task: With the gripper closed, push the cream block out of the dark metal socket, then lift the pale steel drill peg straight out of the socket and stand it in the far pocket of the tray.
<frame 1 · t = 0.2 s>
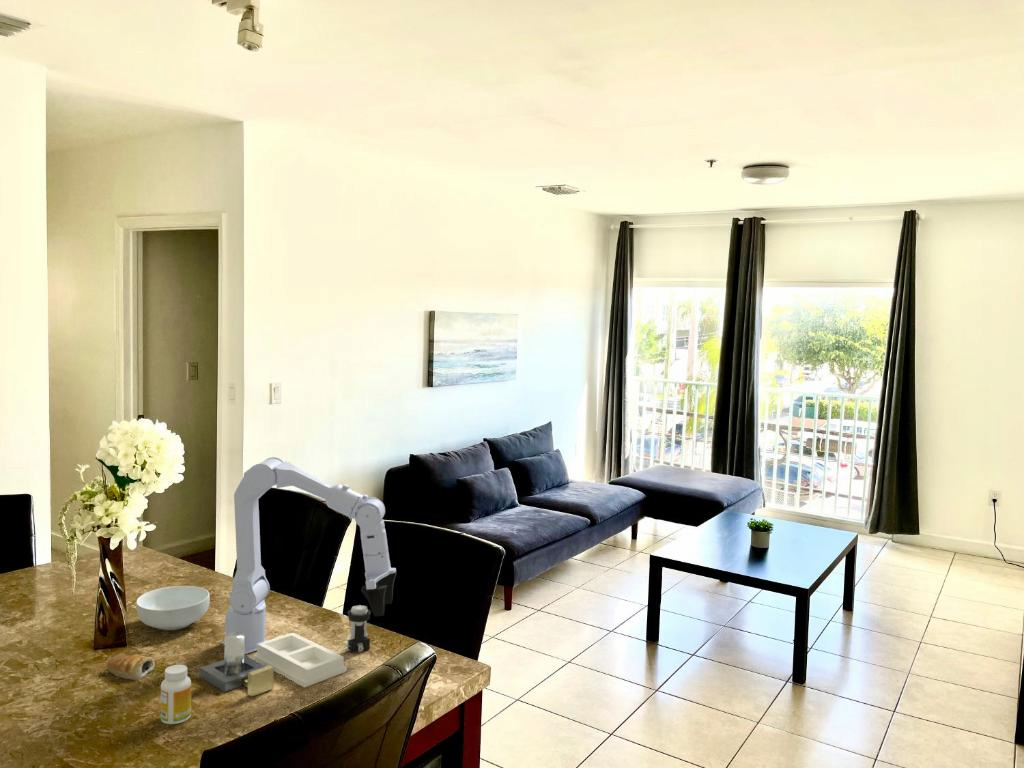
hand: (383, 609, 186), 11 cm above the table, tool pointing down, fingers open, 7 cm apart
pastry: (131, 674, 173), on the table
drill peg: (234, 656, 172), in the socket
cereal bowl: (173, 625, 199), on the table
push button: (355, 651, 189), on the table
supplement bottle: (175, 719, 154), on the table
cream block: (251, 675, 168), point 2 cm above the table, slide at 0.0 cm
tray: (299, 665, 179), on the table
socket: (234, 676, 172), on the table
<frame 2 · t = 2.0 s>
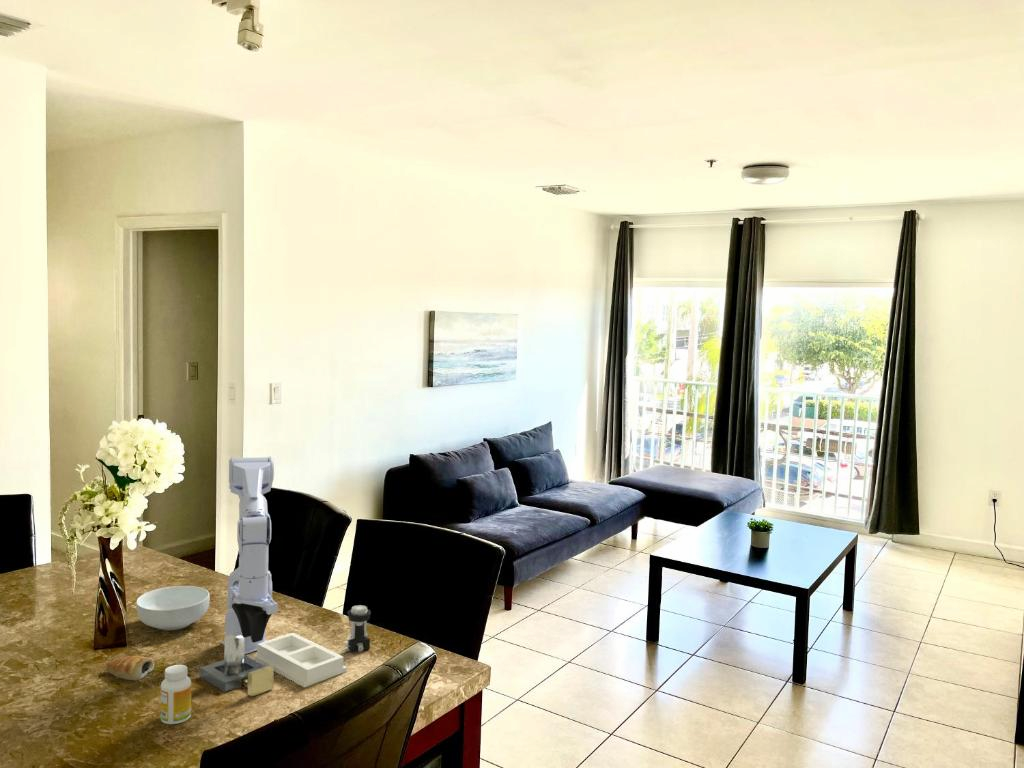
hand: (252, 638, 167), 10 cm above the table, tool pointing down, fingers open, 3 cm apart
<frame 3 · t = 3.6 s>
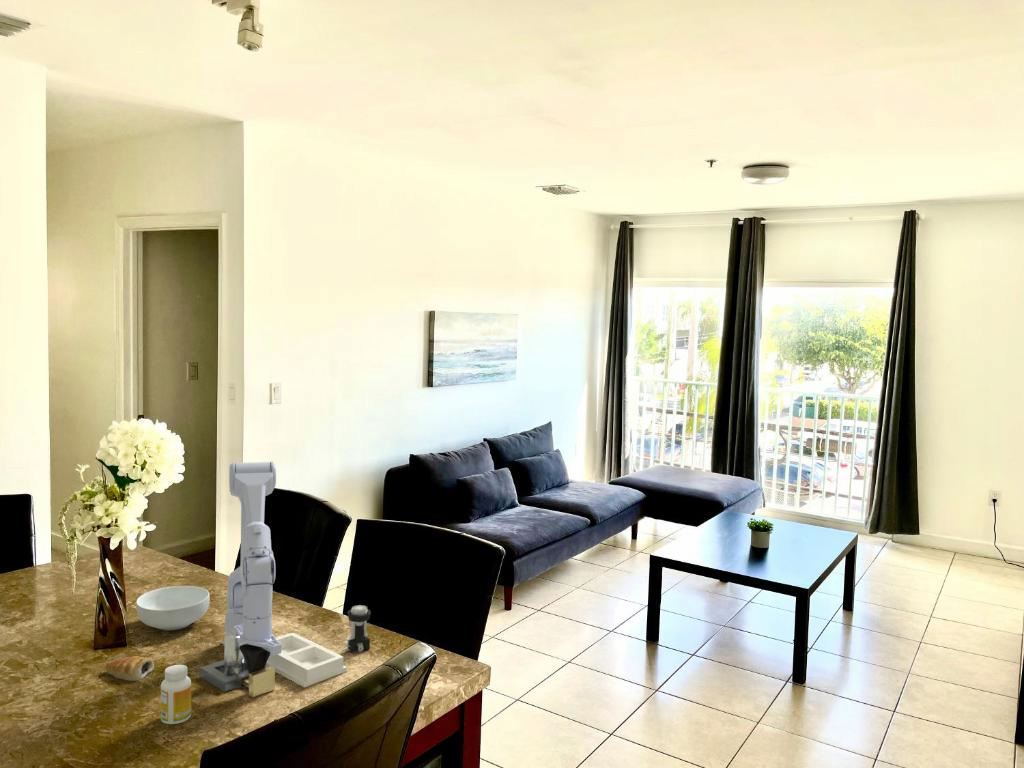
hand: (256, 678, 167), 2 cm above the table, tool pointing down, fingers closed
cream block: (252, 676, 168), point 2 cm above the table, slide at 0.4 cm, touching gripper
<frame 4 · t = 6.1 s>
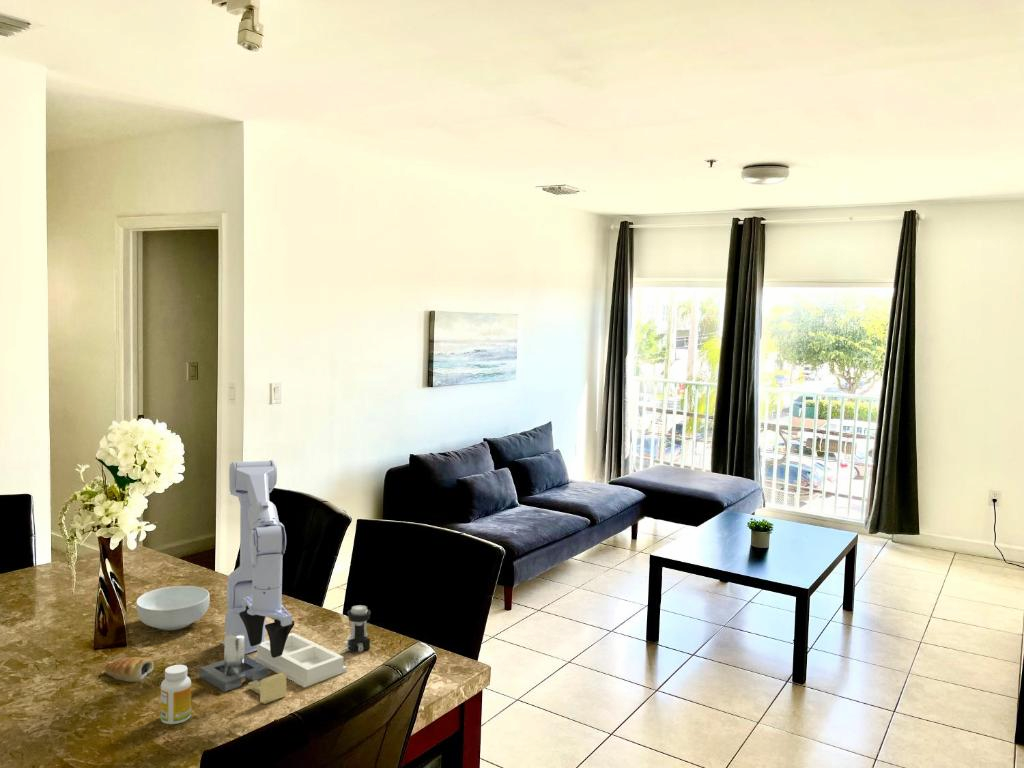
hand: (266, 650, 164), 9 cm above the table, tool pointing down, fingers open, 7 cm apart
cream block: (263, 682, 165), point 2 cm above the table, slide at 4.5 cm
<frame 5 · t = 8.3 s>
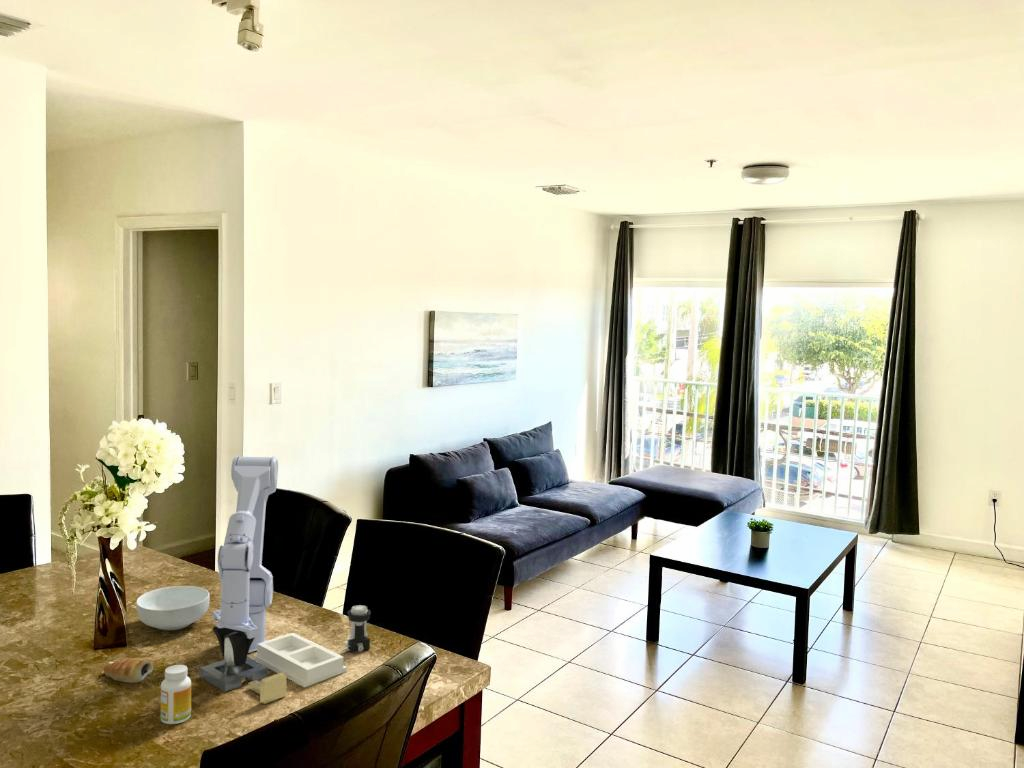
hand: (234, 661, 172), 3 cm above the table, tool pointing down, fingers closed on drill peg, 4 cm apart
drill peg: (234, 656, 172), in the socket, touching gripper
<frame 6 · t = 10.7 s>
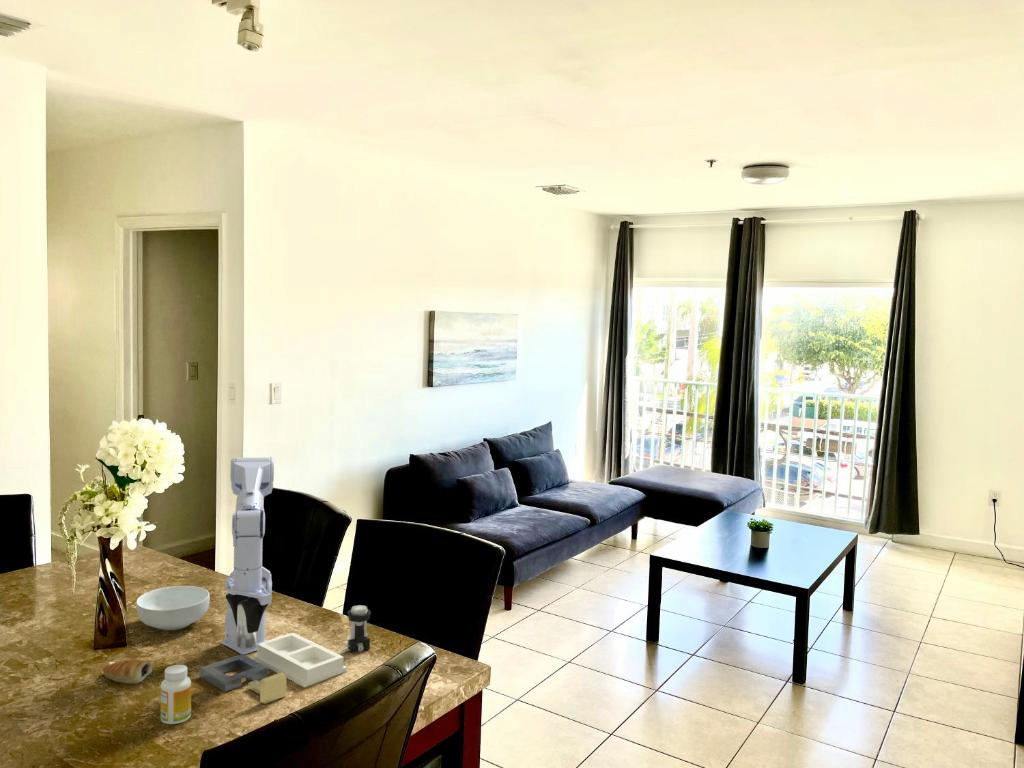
hand: (247, 628, 172), 10 cm above the table, tool pointing down, fingers closed on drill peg, 4 cm apart
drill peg: (247, 623, 172), point 12 cm above the table, touching gripper
when the fingers open (6 cm above the table, at t = 13.3 s): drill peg drops 1 cm, resting on tray.
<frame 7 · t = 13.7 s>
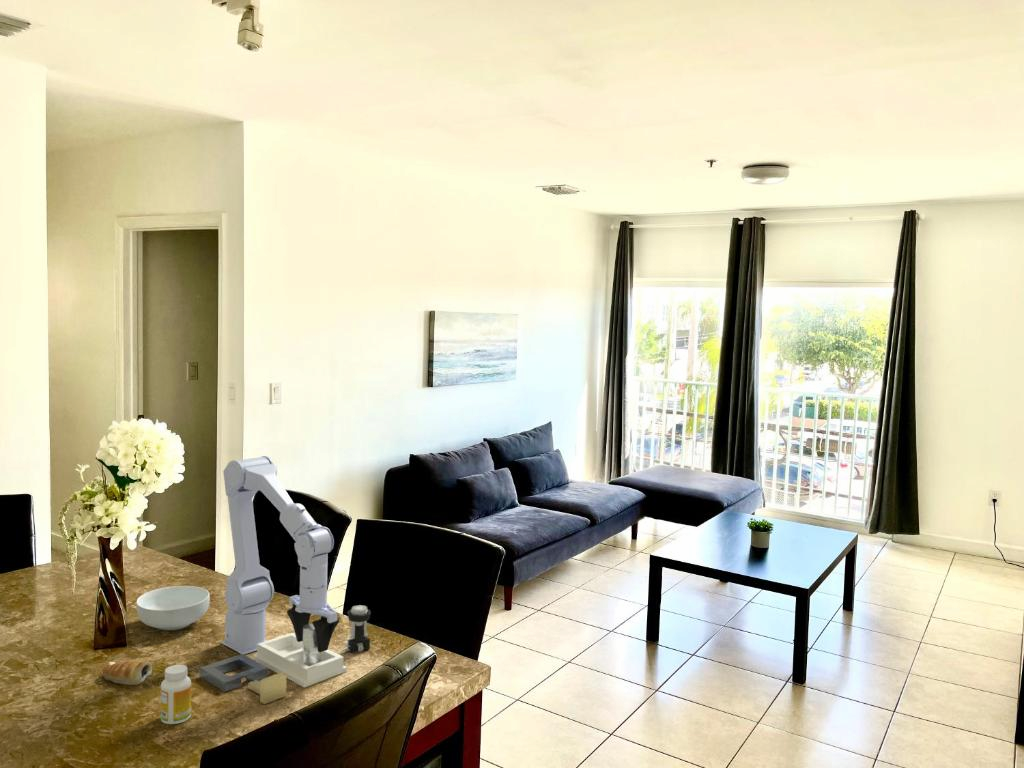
hand: (312, 645, 176), 6 cm above the table, tool pointing down, fingers open, 7 cm apart
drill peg: (311, 647, 176), in the tray, point 6 cm above the table
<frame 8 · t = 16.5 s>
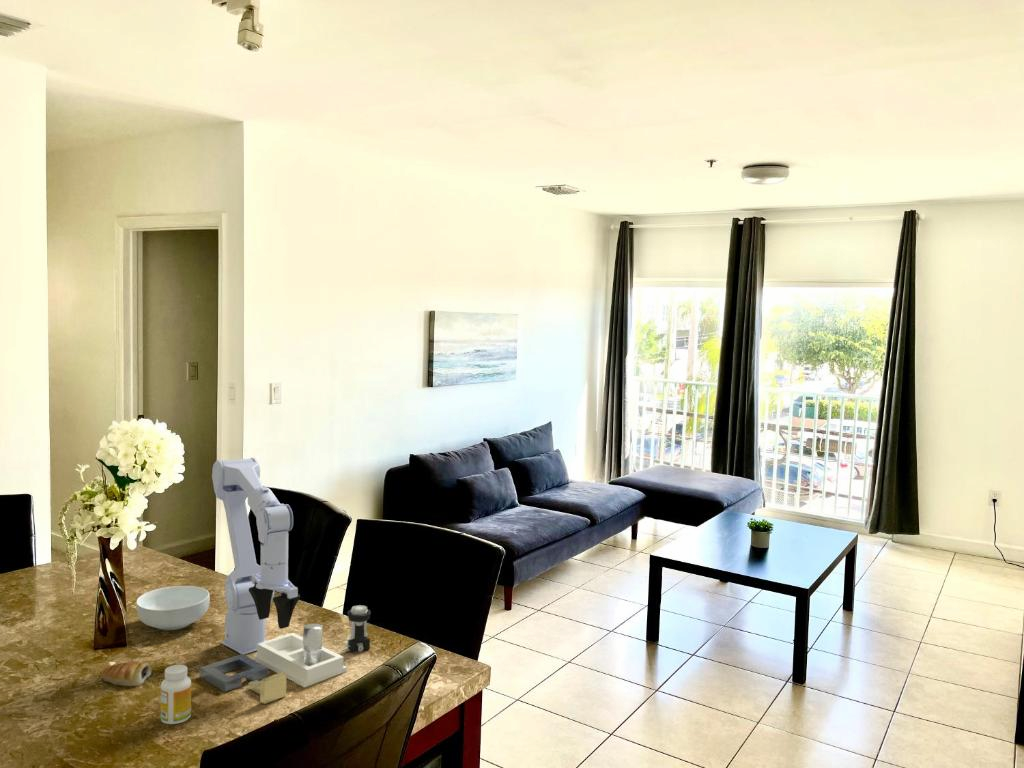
hand: (273, 622, 176), 10 cm above the table, tool pointing down, fingers open, 7 cm apart
at the end: cream block slide at 4.5 cm; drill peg 0.0 cm from the target spot on the tray, point 5.5 cm above the tray's base; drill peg tilted 1° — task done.
